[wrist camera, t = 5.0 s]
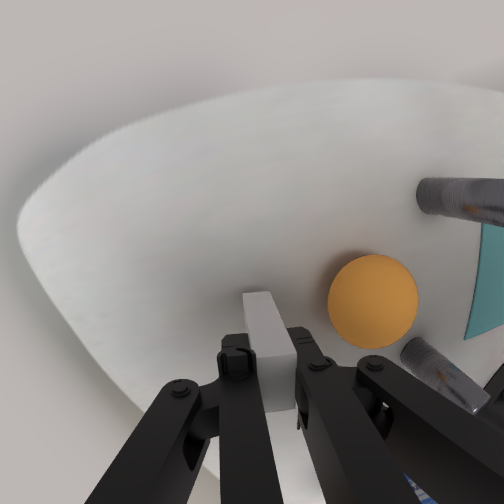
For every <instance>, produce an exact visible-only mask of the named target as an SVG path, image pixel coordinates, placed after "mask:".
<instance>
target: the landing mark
mask: <svg viewBox="0 0 504 504" xmlns="http://www.w3.org/2000/svg"><path fill="white" fill-rule="evenodd" d="M502 324H504V228H503V227H499V226H494V225H489V224H484V223H482V234H481V247H480V257H479V265H478V273H477V280H476V286H475V292H474V298H473V303H472V308H471V313H470V317H469V321H468V326H467V330H466V334H465V337H464V340H468V339H470V338H472V337H475V336H477V335H480V334H482V333H484V332H486V331H489V330H491V329H493V328H495V327H497V326H499V325H502Z"/></svg>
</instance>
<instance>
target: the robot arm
mask: <svg viewBox="0 0 504 504" xmlns="http://www.w3.org/2000/svg"><path fill="white" fill-rule="evenodd" d="M242 295H243V308H244V322H245V333H242V334H230V335H226V336H225V337H224V338H223V339H222V346H221V347H222V348H221V351H220V352H219V353H218V355H217V363H218V370H219V378H218V379H217V380H215V381H214V382H212V383H210V384H207V385H203V386H198V384H197V383H195V382H194V381H192V380H188V379H178V380H173V381H171V382H169V383H167V384H166V385H165V386H164V387H163V388H162V389H161V391H160V392H159V394H158V395H157V397H156V398H155V400H154V401H153V403H152V404H151V405H150V407H149V408H148V410H147V411H146V413H145V414H144V416H143V417H142V419H141V420H140V422H139V423H138V425H137V426H136V428H135V429H134V431H133V432H132V434H131V435H130V437H129V438H128V440H127V441H126V443H125V444H124V446H123V447H122V449H121V450H120V451H119V453H118V454H117V456H116V458H115V459H114V460H113V462H112V463H111V465H110V466H109V468H108V469H107V471H106V472H105V474H104V475H103V477H102V478H101V480H100V481H99V483H98V484H97V486H96V487H95V489H94V490H93V492H92V493H91V494H90V496H89V497H88V499H87V500H86V502H85V503H84V504H187V501H188V499H189V496H190V493H191V491H192V488H193V486H194V483H195V480H196V478H197V475H198V473H199V470H200V467H201V465H202V462H203V460H204V457H205V454H206V452H207V449H208V446H209V444H210V439H211V438H213V437H216V436H219V451H220V494H221V504H284V503H283V498H282V494H281V489H280V484H279V480H278V475H277V470H276V465H275V460H274V456H273V451H272V446H271V441H270V436H269V431H268V426H267V421H266V416H265V413H267V412H275V411H283V410H290V409H295V405H296V402H297V405H298V422H297V430H299V429H300V425H301V428H302V431H303V434H304V437H305V440H306V443H307V446H308V449H309V452H310V456H311V459H312V462H313V465H314V468H315V471H316V474H317V477H318V480H319V483H320V486H321V489H322V492H323V495H324V498H325V501H326V504H422V503H421V502H420V500H419V498H418V496H417V495H416V493H415V491H414V490H413V488H412V486H411V485H410V483H409V481H408V480H407V478H406V476H408V477H409V478H410V479H411V480H412V481H413V482H414V483H415V484H416V485H417V486H418V487H419V488H421V489H422V490H423V491H424V492H425V493H426V494H427V495H428V496H429V497H431V498H432V499H433V500H434V501H435V502H436V503H437V504H504V365H503V366H502V367H501V369H500V370H499V371H498V372H497V373H496V375H495V376H494V377H493V378H492V380H491V381H490V382H489V384H488V385H487V386H486V388H485V389H484V391H486V392H487V393H488V394H489V395H490V396H491V401H490V404H489V406H488V407H487V409H486V411H485V412H484V413H483V415H482V416H481V417H480V418H479V419H478V418H477V417H475V416H474V415H472V414H470V413H469V412H467V411H466V410H464V409H463V408H461V407H460V406H458V405H457V404H455V403H454V402H452V401H450V400H449V399H447V398H446V397H444V396H443V395H441V394H440V393H438V392H437V391H435V390H434V389H432V388H431V387H429V386H428V385H426V384H425V383H423V382H422V381H420V380H419V379H417V378H416V377H414V376H413V375H411V374H410V373H408V372H407V371H405V370H404V369H402V368H401V367H399V366H398V365H396V364H395V363H393V362H392V361H390V360H389V359H387V358H385V357H383V356H378V355H369V356H365V357H363V358H361V359H360V360H359V361H358V363H357V367H340V366H337V364H336V362H335V361H334V360H333V359H331V358H329V357H327V356H324V355H323V354H322V352H321V350H320V349H319V347H318V345H317V344H316V342H315V340H314V339H313V338H312V335H311V333H310V332H309V331H308V330H307V329H305V328H303V327H294V328H286V327H285V325H284V323H283V320H282V318H281V316H280V314H279V311H278V309H277V307H276V305H275V302H274V300H273V298H272V296H271V293H270V291H264V292H252V293H242ZM383 402H384V403H385V404H386V405H388V406H389V407H388V408H387V407H385V406H384V405H383ZM404 474H405V475H406V476H405V475H404Z"/></svg>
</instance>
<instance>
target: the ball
mask: <svg viewBox="0 0 504 504" xmlns="http://www.w3.org/2000/svg"><path fill="white" fill-rule="evenodd" d="M418 301H419V299H418V290H417V286H416V284H415V281H414V279H413V277H412V275H411V274H410V272H409V271H408V270H407V269H406V268H405V267H404V266H403V265H402V264H401V263H400V262H398V261H396V260H395V259H392V258H390V257H387V256H384V255H366V256H363V257H359V258H357V259H355V260H353V261H351V262H349V263H348V264H347V265H345V266H344V267H343V268H342V269H341V270H340V271H339V273H338V274H337V275H336V277H335V279H334V280H333V282H332V285H331V287H330V290H329V295H328V313H329V317H330V320H331V322H332V325H333V326H334V328H335V330H336V331H337V333H338V334H339V335H340V336H341V337H342V338H343V339H344V340H346V341H347V342H349V343H350V344H352V345H354V346H357V347H360V348H365V349H378V348H383V347H386V346H389V345H391V344H393V343H395V342H396V341H398V340H399V339H400V338H401V337H403V336H404V335H405V334H406V332H407V331H408V330H409V329H410V327H411V326H412V324H413V322H414V320H415V317H416V314H417V310H418Z"/></svg>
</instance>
